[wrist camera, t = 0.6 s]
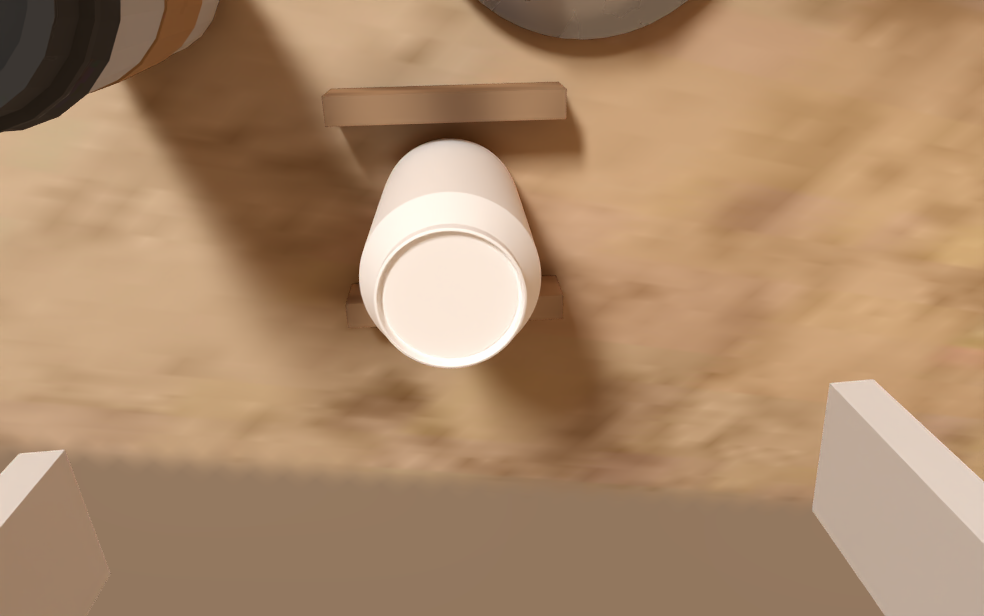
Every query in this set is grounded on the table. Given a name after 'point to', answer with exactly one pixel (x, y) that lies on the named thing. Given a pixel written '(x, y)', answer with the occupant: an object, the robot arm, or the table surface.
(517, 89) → the walnut cradle
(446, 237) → the beverage can
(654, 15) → the hub collar
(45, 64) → the coffee cup
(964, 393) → the table surface
